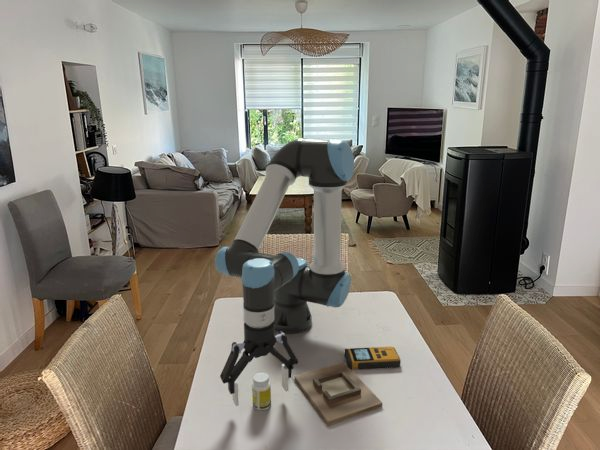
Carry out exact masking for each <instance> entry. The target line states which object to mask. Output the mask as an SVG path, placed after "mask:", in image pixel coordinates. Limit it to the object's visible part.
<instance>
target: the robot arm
mask: <svg viewBox="0 0 600 450" xmlns="http://www.w3.org/2000/svg"><path fill="white" fill-rule="evenodd" d="M353 152H354V151H353V150H352V147H351V146H350V144H349V143H348V142H347V141H344V140H339V139H334V138H331V139H330V138H329V139H328V138H327V139H326V138H303V137H301V138H295V139H293V140H291V141H288V142H287V143H286V144H285V145H284V144H283V146H282V147H281V148H279V150H277V151H276V152H275V154H274V155H273V156H272V157H271V159H270V160H269V162H268V163H267V166H266V168H265V174H266V175H265V178H264V179H263V181H262V183H261V185H260V187H259V189H258V191H257V193H256V196H255V197H254V199H253V201H252V204H251V206H250V207H249V209H248V212H247V213H246V215H245V218H244V220H243V221H242V223H241V226H240V227H239V230H238V231H237V234H236V236H235V238H234V240H233V241H232V243H231V245H230V246H222V247H221V248H220V249H219V250H218V251H216V254H215V258H214V264H215V268H216V270H217V271H218V272H219V273H221V274H223V275H227V276H230V277H236V278H241V284H242V299H243V303H242V304H243V306H242V307H243V308H242V309H243V331H244V332H243V333H244V335H243V337H244V338H243V339H244V341H243V342H242V343H237V342H235V341H233V342H232V343H231V349H230V353H229V355H228V356H227V357H228V358H227V359H226V362H225V364H224V366H223V369H222V370H221V372H220V375H219V378H220V379H221V382H222V384H226V383H227V387H228V388H227V389H228V392H229V394H230V395H232V401H233V403H234V406H235V407H239V405H240V402H239V383H238V381H237V379H238V378H239V377H240V375H241V374H242V373H243V371H244V370H245V368H246V367H247V365H248V364H249V363H250V362H252V361H253V359H254V358H255V359H258V358H260V357H266V356H268V354H271V355H272V356H273V357H275V358H276V359H277V360H278V361H280V362H281V363H282V364H281V387H282V388H283V390H284V391H285V392H289V389H290V387H289V384H290V381H289V379H290V378H291V377H292V376H293V375H292V370H293V369H294V366H295V365H298V364H299V360H298V358H297V357H296V354H295V352H294V351H293V350H292V348H291V346H290V344H289V343H288V338H287V334H297V333H302V332H304V331H307V330H308V329H309V328H310V327H311V326H312V325H313V324H312V323H313V321H312V320H313V317H312V313H311V310H310V307H309V304H308V303H312V304H317V305H322V306H326V307H328V308H329V307H332V308H340V307H341V306H343V305H344V303H345V301H346V300H347V298H348V295H349V292H350V289H351V284H352V277H351V276H352V275H351V274H350V273H348V272H346V266H345V264H344V263H343V261H341V252H342V251H341V249H342V246H341V245H342V243H341V242H342V238H341V237H342V194H343V193H342V192H343V191H342V190H343V189H344V188H345V187H346V186H347V183H348V181H350V180H351V179H352V178H353V174H354V170H355V158H354V153H353ZM299 177H306V178H308V185H309V186H310V188H312V189H313V261H312V262H311V263H309V265H308V261H307V260H306V259H305V258H300V257H296V256H295V255H294V254H292V253H290V252H288V251H284V252H279V253H277V254H276V255H275V254H274V255H273V254H268V253H261V252H259V251H260V250H261V248H262V245H263V243H264V241H265V238H266V237H267V234H268V233H269V230H270V228H271V226H272V223H273V222H274V219H275V217H276V215H277V212H278V210H279V208H280V206H281V205H282V202H283V200H284V197H285V195H286V193H287V191H288V190H289V187H290V186H292V185H294V183H295V182H296V180H297V178H299ZM275 331H276V332H279V333H278V334H276V335H275V333H276V332H275ZM277 342H278V343H279V344H281V345H282V347H283V349H284V350H285V352H286V353H287V356H288V357H289V359H288V358H287V357H285V356H284V354H282V353H281V352H279V351H278V349H276V348H275V347H274V346H275V345H276V343H277ZM242 350H244V351H243V352H242ZM241 353H242V354H241ZM240 354H241V357H239V356H240Z"/></svg>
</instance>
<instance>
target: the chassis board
mask: <svg viewBox="0 0 600 450" xmlns="http://www.w3.org/2000/svg"><path fill="white" fill-rule="evenodd" d="M293 380H294V381H295V382H296V384H297V385H298V386H299V388H300V390H302V392H303V393H304V395H305V396H306V398H307V399H308V401H309V402H310V403H311V405H312V406H313V407H314V408H315V411H317V412H318V414H319V415H320V417H321V418H322V419H323V421H324V422H325V423H326V425H327V426H331V425H333V424H334V425H335V424H336V423H337V424H338V423H339V422H342V421H346V420H348V419H352V418H355V417H356V416H360V415H362V414H365V413H368V412H369V413H370V412H372V411H374V410H377V409H380V408H383V402H382V401H381V400H380V398H379V397H378V396H376V394H375V393H374V392H372V390H371V389H370V388H369V387H368V386H367V385H366V384H365V383H364V382H363V381H362V379H361V378H359V376H358V375H356V373H355V372H353V369H352V370H351V369H350V368H349V367H348V365H347V363H345V361H341V362H339V363H335V364H330V365H327V366H324V367H321V368H316V369H315V370H314V369H313V370H310V371H306V372H304V373H300V374H296V375H294V378H293Z"/></svg>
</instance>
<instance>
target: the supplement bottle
mask: <svg viewBox="0 0 600 450" xmlns="http://www.w3.org/2000/svg"><path fill="white" fill-rule="evenodd" d="M269 377H270V376H269V374H267V373H266V372H257V373H255V374H254V375H253V377H252V379H253V380H252V384H251V393H252V394H251V395H252V406H253V408H254V409H256V411H257V410H258V411H266V410H268V409H269V408H270V407H271V405H272V394H271V393H272V392H271V391H272V389H271V387H272V386H271V382H270V378H269Z"/></svg>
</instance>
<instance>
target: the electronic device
mask: <svg viewBox="0 0 600 450" xmlns="http://www.w3.org/2000/svg"><path fill="white" fill-rule="evenodd" d="M344 358H345V362H346V365H347V366H348V367H349V368H350V369H351V370H352V371H353V370H373V369H374V370H375V369H378V370H379V369H394V368H395V369H397V368H400V366H401V358H400V355H399V354H398V352H397V350H396V348H395V347H394V346H375V347H355V348H351V347H350V348H345V349H344Z"/></svg>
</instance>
